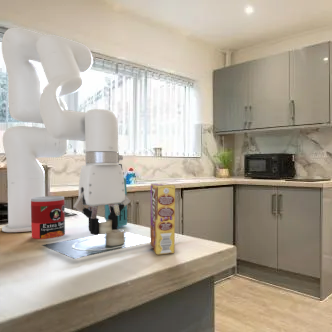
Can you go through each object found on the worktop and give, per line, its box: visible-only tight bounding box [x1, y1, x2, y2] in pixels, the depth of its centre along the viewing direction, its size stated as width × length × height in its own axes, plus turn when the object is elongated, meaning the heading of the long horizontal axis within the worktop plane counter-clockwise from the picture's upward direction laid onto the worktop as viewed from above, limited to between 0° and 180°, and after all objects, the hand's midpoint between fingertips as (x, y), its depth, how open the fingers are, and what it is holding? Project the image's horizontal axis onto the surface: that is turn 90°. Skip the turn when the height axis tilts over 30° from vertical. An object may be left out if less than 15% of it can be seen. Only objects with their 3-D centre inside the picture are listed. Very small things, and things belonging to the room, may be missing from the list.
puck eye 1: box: [98, 218, 112, 235], centre depth 82 cm, size 4×4×3 cm
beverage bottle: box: [103, 163, 129, 227], centre depth 98 cm, size 6×7×20 cm
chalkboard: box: [41, 231, 150, 260], centre depth 80 cm, size 18×20×1 cm
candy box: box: [149, 182, 176, 255], centre depth 75 cm, size 9×4×15 cm, turn 26°
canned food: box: [31, 195, 66, 240], centre depth 88 cm, size 8×8×11 cm
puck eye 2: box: [106, 228, 125, 246], centre depth 78 cm, size 4×4×3 cm
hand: (103, 231), depth 82 cm, fingers closed on puck eye 1, 4 cm apart
